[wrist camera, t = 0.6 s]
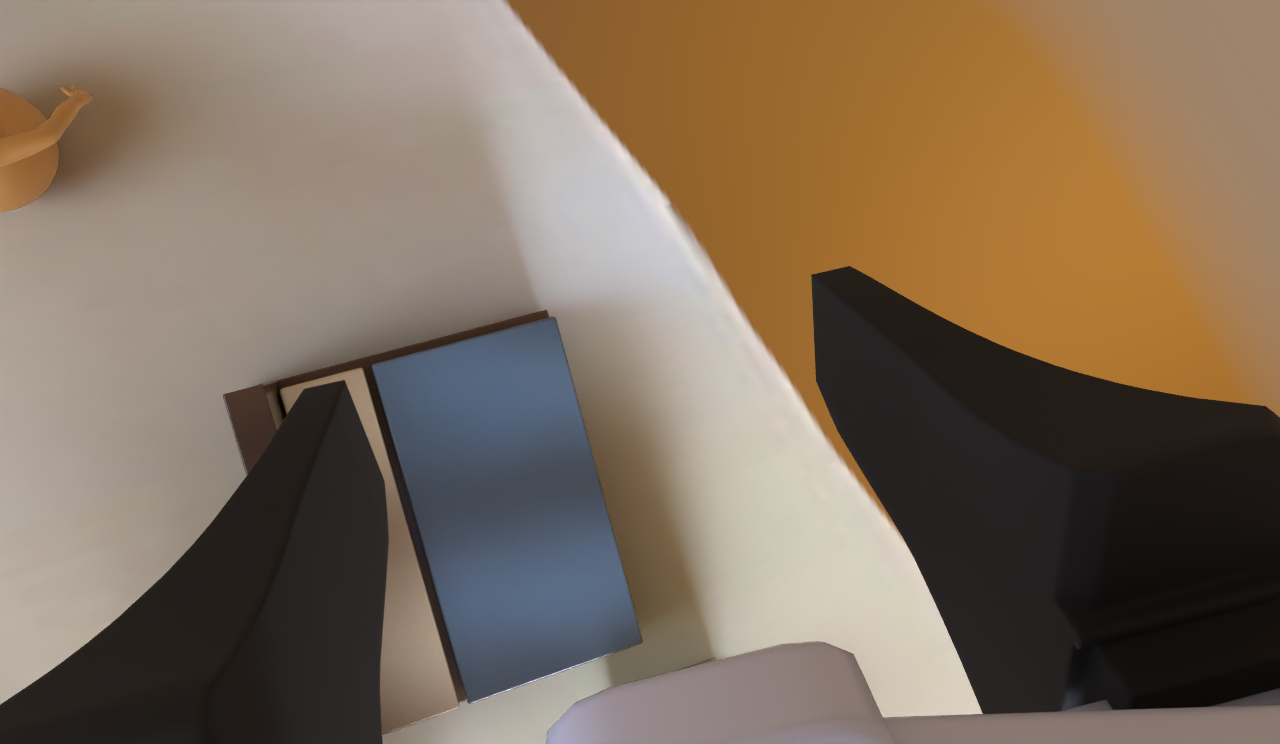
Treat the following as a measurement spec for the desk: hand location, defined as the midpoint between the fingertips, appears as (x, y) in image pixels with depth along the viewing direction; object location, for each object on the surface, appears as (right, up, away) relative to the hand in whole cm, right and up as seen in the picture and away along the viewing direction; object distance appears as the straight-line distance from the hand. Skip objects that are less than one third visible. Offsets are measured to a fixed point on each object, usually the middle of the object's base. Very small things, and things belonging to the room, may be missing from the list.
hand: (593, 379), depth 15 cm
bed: (-7, -5, +23) cm, 24 cm away
